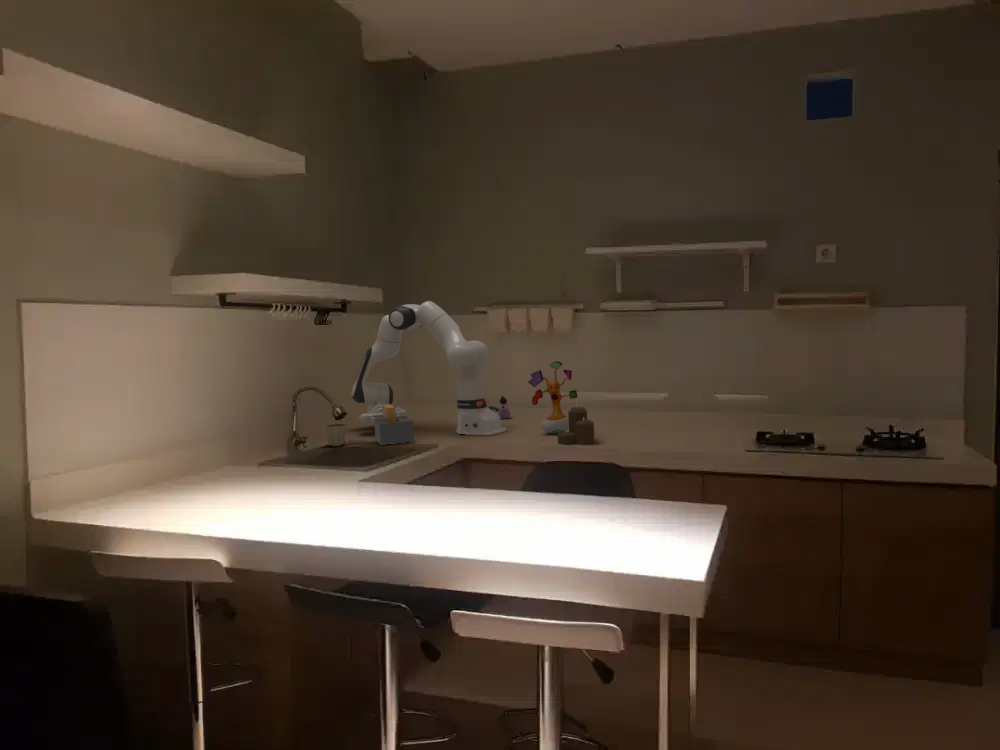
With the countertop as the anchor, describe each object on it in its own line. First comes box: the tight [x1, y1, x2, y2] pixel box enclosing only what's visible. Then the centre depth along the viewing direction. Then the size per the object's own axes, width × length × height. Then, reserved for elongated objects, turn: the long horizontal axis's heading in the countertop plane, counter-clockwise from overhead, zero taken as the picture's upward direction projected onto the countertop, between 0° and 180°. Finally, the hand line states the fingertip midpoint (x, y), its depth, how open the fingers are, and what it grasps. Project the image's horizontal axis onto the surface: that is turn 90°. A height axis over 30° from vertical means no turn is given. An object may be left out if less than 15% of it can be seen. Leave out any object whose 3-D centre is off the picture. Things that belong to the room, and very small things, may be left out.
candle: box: [557, 402, 595, 446], centre depth 329 cm, size 14×14×15 cm
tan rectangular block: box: [382, 404, 396, 422], centre depth 357 cm, size 10×4×14 cm, turn 18°
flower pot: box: [323, 422, 347, 445], centre depth 348 cm, size 9×9×9 cm
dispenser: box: [373, 414, 415, 444], centre depth 349 cm, size 12×14×10 cm
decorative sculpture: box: [527, 360, 578, 435], centre depth 347 cm, size 20×8×30 cm, turn 76°
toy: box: [487, 395, 511, 420], centre depth 394 cm, size 10×15×15 cm
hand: (386, 419), depth 364 cm, fingers open, 8 cm apart
